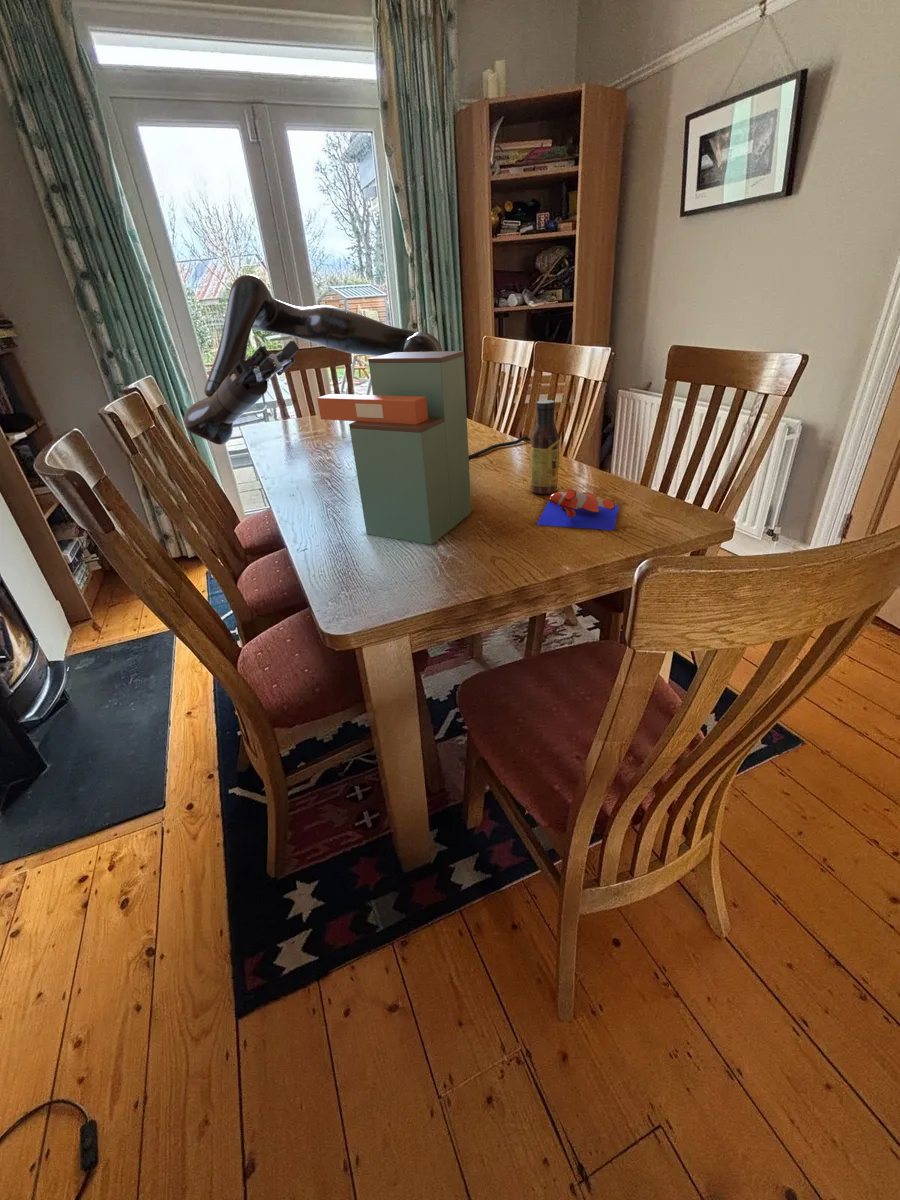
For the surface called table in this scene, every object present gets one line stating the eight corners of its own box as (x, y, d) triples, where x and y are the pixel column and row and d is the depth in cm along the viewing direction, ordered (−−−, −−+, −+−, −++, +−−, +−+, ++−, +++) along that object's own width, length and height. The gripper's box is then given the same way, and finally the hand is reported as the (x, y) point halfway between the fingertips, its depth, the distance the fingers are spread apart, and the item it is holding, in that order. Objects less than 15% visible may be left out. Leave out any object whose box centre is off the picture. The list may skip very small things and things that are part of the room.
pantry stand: (366, 534, 109) (339, 365, 92) (411, 504, 122) (394, 352, 105) (431, 545, 102) (415, 364, 85) (471, 512, 115) (463, 351, 98)
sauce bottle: (557, 495, 120) (560, 404, 110) (529, 495, 121) (530, 405, 111) (557, 486, 126) (561, 398, 115) (531, 486, 127) (532, 399, 117)
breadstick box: (320, 419, 103) (316, 397, 101) (334, 414, 106) (330, 393, 104) (416, 424, 93) (414, 401, 91) (428, 419, 96) (426, 396, 94)
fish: (547, 495, 106) (554, 481, 112) (546, 517, 108) (553, 502, 115) (614, 498, 102) (617, 484, 108) (612, 521, 104) (615, 505, 111)
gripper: (205, 378, 110) (243, 333, 100) (255, 368, 121) (294, 326, 111) (227, 411, 112) (266, 370, 102) (274, 398, 123) (314, 359, 113)
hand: (281, 347), depth 106 cm, fingers open, 8 cm apart
